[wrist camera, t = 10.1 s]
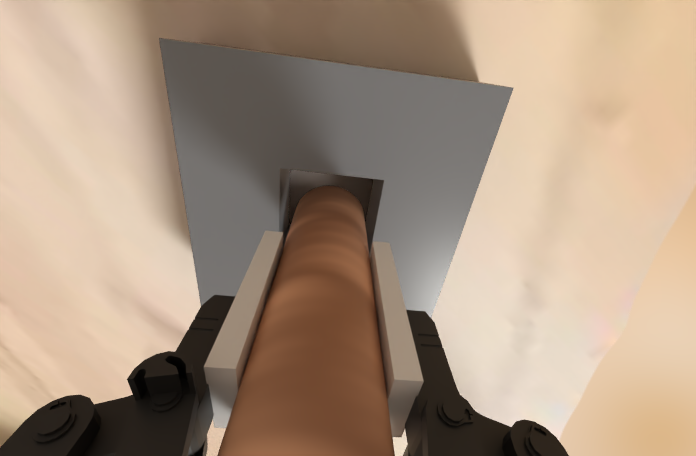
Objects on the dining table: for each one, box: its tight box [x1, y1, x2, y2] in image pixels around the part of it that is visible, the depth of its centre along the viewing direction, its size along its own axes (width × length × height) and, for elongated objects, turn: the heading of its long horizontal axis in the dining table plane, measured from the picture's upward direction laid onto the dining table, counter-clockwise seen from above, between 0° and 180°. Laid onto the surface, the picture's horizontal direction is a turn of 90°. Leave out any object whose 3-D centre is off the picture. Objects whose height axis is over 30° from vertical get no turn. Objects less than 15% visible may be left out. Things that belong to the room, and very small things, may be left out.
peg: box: [218, 186, 395, 456], centre depth 10 cm, size 4×4×16 cm
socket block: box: [159, 38, 513, 318], centre depth 19 cm, size 16×16×4 cm
